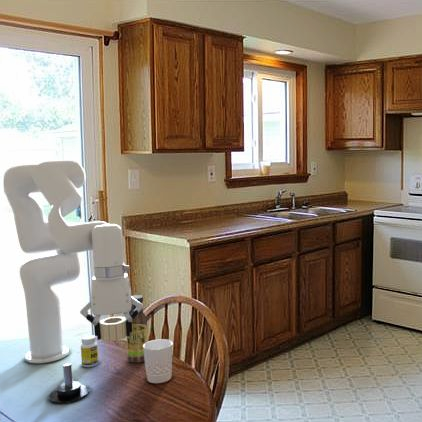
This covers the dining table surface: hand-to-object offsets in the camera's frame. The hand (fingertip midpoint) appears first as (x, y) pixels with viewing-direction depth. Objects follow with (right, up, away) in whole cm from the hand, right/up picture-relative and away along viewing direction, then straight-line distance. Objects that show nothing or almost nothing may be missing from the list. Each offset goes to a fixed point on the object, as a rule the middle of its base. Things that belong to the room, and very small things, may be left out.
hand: (114, 336), depth 143 cm
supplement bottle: (-13, -13, +18) cm, 26 cm away
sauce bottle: (+1, -12, +20) cm, 24 cm away
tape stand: (-11, -15, -2) cm, 19 cm away
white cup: (+11, -14, +7) cm, 18 cm away
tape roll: (0, 0, 0) cm, 0 cm away
